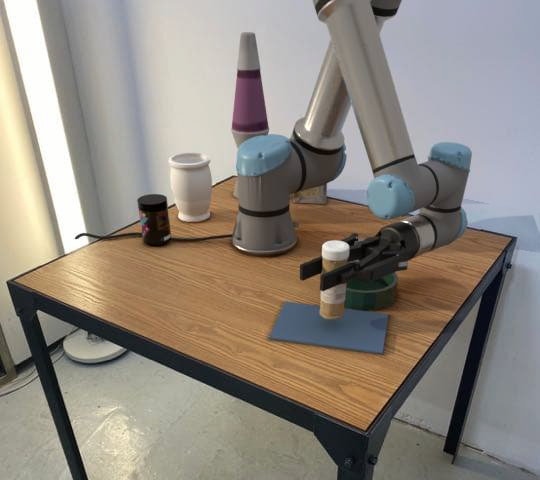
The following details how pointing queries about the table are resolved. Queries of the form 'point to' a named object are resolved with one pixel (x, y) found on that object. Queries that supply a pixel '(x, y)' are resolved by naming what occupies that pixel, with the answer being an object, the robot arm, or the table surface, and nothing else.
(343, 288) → the sprinkles bottle
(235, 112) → the lamp
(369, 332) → the mat
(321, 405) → the table surface
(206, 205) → the jar
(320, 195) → the coffee box
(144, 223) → the supplement container
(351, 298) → the bowl
